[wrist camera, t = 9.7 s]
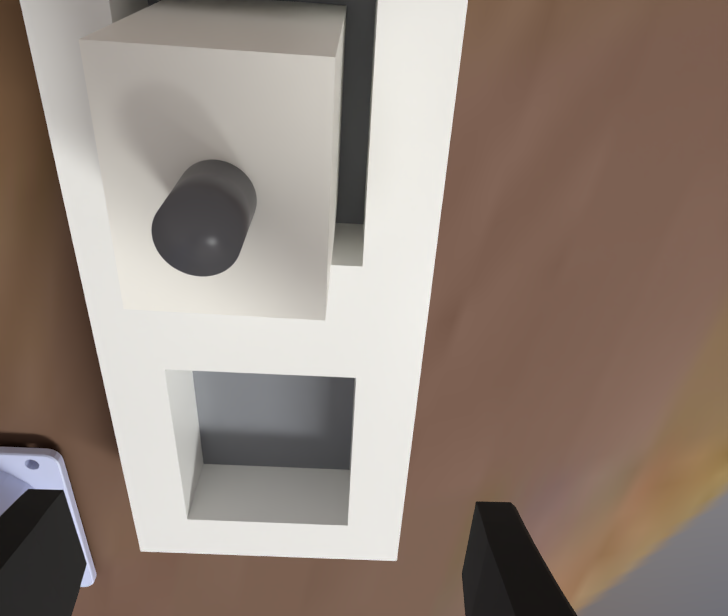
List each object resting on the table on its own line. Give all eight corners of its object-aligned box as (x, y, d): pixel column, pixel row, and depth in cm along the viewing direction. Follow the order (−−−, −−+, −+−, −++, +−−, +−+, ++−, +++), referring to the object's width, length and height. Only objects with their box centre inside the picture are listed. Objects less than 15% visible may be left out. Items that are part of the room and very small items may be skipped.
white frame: (163, 485, 25) (140, 551, 22) (55, -143, 14) (-14, -152, 11) (393, 494, 25) (396, 561, 22) (462, -117, 14) (483, -122, 12)
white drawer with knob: (194, 192, 18) (93, 358, 11) (177, -7, 15) (32, 60, 8) (337, 201, 18) (320, 370, 11) (346, 5, 15) (330, 81, 9)
